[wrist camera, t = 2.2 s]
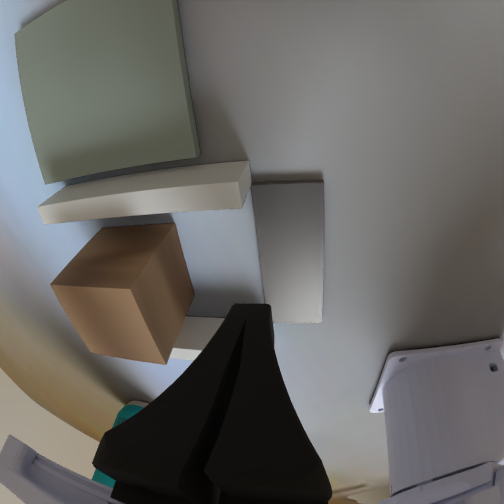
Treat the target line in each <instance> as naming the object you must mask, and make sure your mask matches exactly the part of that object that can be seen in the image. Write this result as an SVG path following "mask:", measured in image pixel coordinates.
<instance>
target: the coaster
mask: <svg viewBox="0 0 504 504" xmlns="http://www.w3.org/2000/svg"><path fill="white" fill-rule="evenodd" d="M15 46H16V55H17V63H18V71H19V78H20V84H21V90H22V95H23V101H24V106H25V111H26V115H27V120H28V124H29V129H30V133H31V137H32V141H33V145H34V148H35V152H36V156H37V159H38V163H39V166H40V169H41V173H42V176H43V179H44V182H45V185H46V184H50V183H54V182H59V181H63V180H67V179H72V178H76V177H81V176H86V175H90V174H95V173H100V172H106V171H111V170H116V169H122V168H128V167H134V166H140V165H146V164H153V163H159V162H166V161H174V160H181V159H189V158H197V157H198V156H199V155H200V154H201V153H200V147H199V142H198V136H197V130H196V124H195V118H194V112H193V106H192V100H191V93H190V87H189V81H188V74H187V68H186V61H185V54H184V47H183V40H182V33H181V26H180V18H179V11H178V3H177V0H66V1H64V2H62V3H61V4H59V5H57V6H56V7H54V8H52V9H51V10H49V11H47V12H46V13H44V14H43V15H41V16H40V17H38V18H37V19H35V20H34V21H32V22H31V23H29V24H28V25H26V26H25V27H23V28H22V29H21V30H19V31H18V32H17V33H15Z"/></svg>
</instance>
